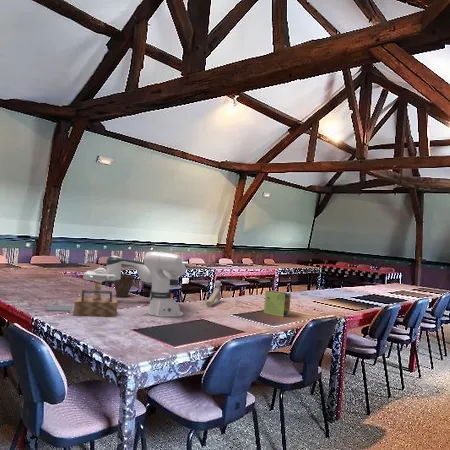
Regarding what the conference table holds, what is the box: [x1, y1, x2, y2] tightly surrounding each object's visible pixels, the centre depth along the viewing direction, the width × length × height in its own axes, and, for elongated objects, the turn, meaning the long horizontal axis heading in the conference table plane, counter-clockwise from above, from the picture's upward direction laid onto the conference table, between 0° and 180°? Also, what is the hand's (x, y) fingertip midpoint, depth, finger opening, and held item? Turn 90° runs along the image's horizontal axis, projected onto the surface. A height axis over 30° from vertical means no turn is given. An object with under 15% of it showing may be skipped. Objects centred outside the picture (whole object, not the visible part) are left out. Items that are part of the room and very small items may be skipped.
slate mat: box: [45, 304, 73, 312], centre depth 259 cm, size 14×14×1 cm
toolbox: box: [73, 289, 118, 317], centre depth 254 cm, size 24×14×14 cm, turn 104°
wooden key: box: [93, 281, 103, 300], centre depth 257 cm, size 4×4×15 cm
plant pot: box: [113, 273, 135, 298], centre depth 318 cm, size 15×15×16 cm
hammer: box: [205, 280, 222, 308], centre depth 317 cm, size 16×5×30 cm
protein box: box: [263, 290, 292, 318], centre depth 298 cm, size 10×15×16 cm
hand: (99, 278), depth 269 cm, fingers open, 8 cm apart
